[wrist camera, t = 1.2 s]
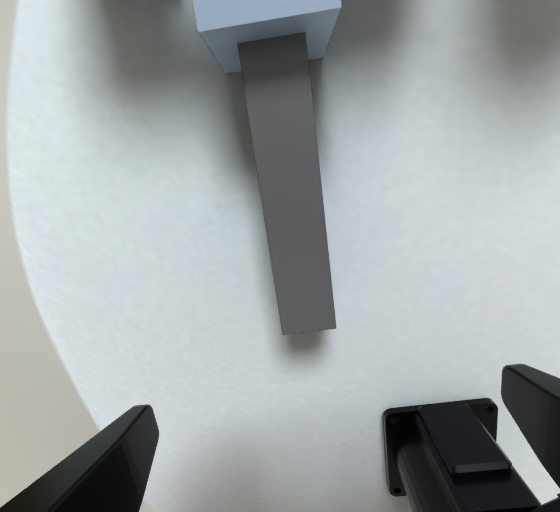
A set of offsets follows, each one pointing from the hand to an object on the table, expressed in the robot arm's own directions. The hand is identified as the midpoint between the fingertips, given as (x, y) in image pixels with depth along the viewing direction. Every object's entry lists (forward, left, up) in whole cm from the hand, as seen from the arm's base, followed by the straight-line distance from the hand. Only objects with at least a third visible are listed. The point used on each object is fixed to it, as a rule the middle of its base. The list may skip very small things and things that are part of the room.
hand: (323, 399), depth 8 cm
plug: (+7, 0, -10) cm, 12 cm away
